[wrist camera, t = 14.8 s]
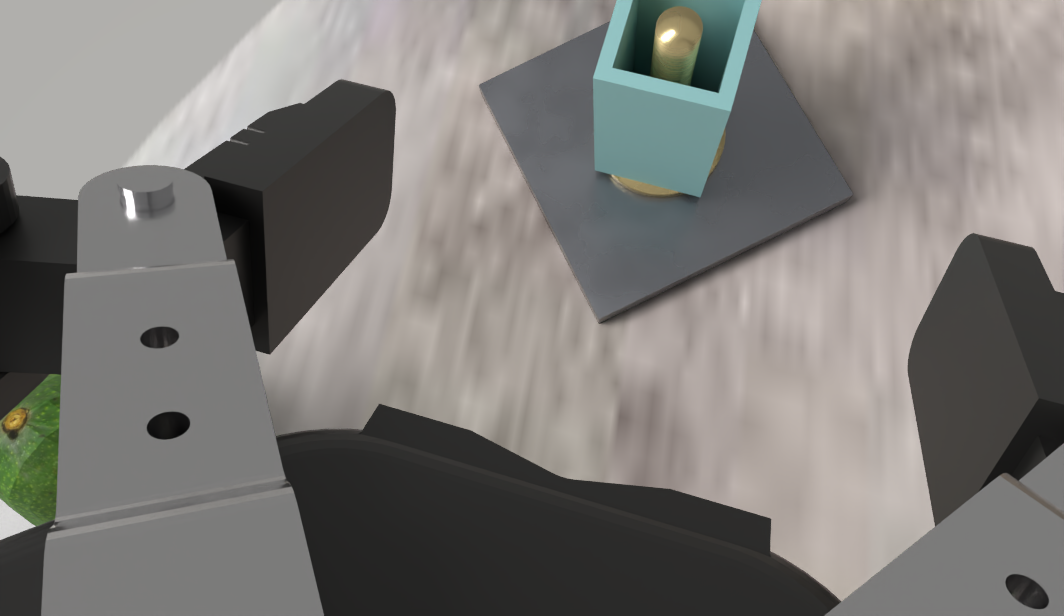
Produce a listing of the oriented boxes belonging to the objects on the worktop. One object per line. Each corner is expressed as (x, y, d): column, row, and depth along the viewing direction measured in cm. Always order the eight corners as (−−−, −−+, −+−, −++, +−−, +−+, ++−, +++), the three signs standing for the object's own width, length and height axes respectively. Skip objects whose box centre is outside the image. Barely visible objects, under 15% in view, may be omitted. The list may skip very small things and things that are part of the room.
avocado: (266, 444, 43) (140, 430, 31) (159, 567, 42) (-10, 600, 30) (158, 345, 44) (0, 297, 33) (53, 462, 44) (-148, 455, 32)
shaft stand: (714, -18, 46) (753, -188, 34) (846, 201, 43) (938, 98, 31) (481, 95, 46) (440, -38, 34) (598, 323, 43) (598, 264, 31)
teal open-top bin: (623, 73, 43) (630, -45, 34) (727, 98, 43) (765, -15, 33) (594, 170, 43) (592, 78, 33) (700, 197, 42) (730, 111, 32)
